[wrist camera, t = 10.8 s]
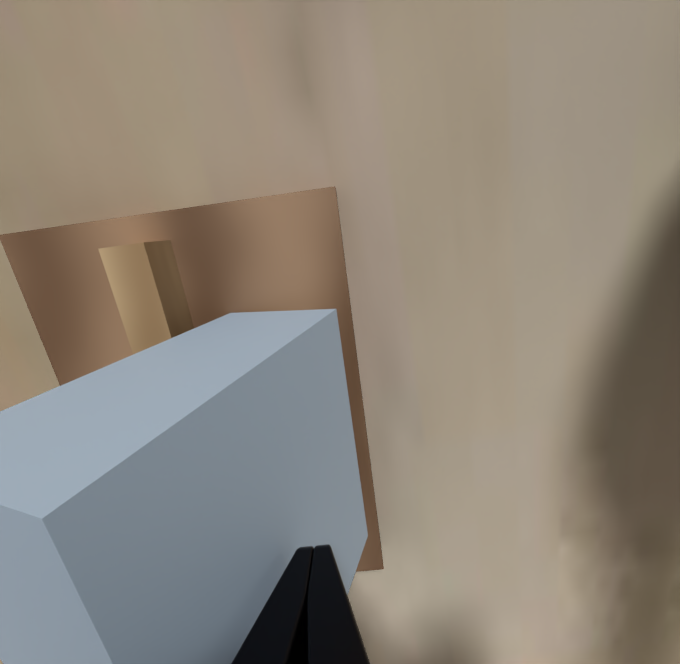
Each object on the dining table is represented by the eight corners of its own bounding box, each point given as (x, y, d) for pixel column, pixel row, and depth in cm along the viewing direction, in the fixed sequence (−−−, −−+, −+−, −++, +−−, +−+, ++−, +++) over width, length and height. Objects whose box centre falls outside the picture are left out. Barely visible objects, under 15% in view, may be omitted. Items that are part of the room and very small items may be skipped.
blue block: (336, 308, 12) (41, 518, 4) (367, 535, 15) (236, 916, 7) (230, 312, 14) (-123, 464, 6) (277, 515, 16) (89, 800, 9)
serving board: (335, 189, 13) (334, 180, 10) (381, 547, 19) (388, 606, 16) (27, 234, 14) (-56, 237, 11) (156, 569, 19) (123, 629, 16)
